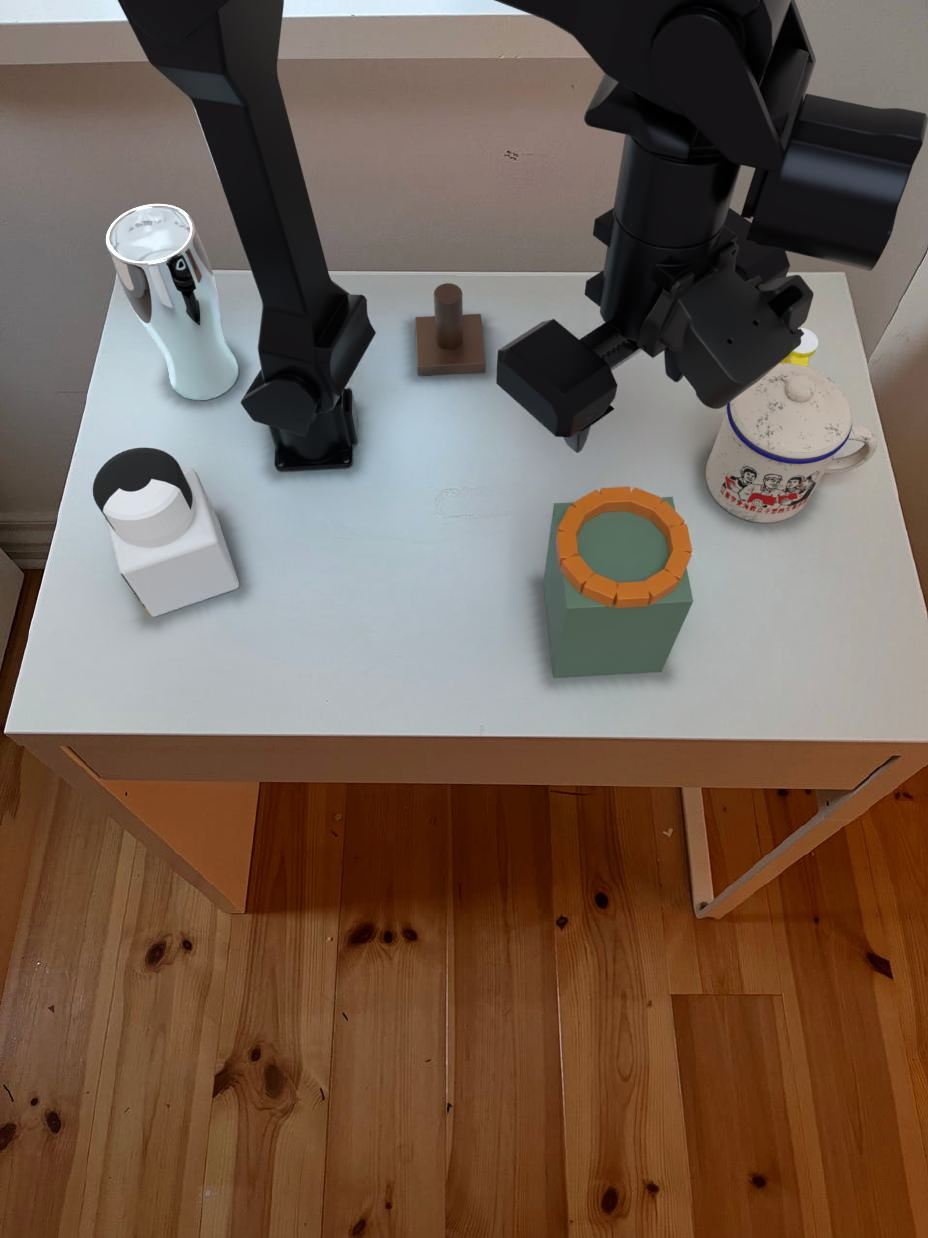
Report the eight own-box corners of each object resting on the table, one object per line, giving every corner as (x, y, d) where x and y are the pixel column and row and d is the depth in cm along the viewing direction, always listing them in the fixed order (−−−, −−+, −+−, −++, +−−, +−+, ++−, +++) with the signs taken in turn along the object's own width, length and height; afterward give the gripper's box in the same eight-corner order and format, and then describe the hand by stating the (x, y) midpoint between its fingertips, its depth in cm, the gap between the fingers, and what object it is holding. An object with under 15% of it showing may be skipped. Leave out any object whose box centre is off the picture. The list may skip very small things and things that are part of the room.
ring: (564, 611, 56) (565, 602, 55) (550, 500, 60) (551, 490, 59) (697, 603, 56) (701, 594, 55) (675, 493, 60) (678, 483, 59)
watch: (761, 361, 80) (781, 310, 74) (792, 363, 80) (815, 312, 74) (765, 414, 77) (786, 365, 72) (798, 416, 77) (822, 367, 71)
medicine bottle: (131, 546, 72) (71, 453, 61) (218, 518, 73) (173, 421, 62) (151, 619, 69) (91, 535, 58) (241, 589, 70) (198, 500, 59)
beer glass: (251, 347, 81) (206, 203, 68) (234, 407, 78) (184, 268, 65) (176, 343, 82) (117, 198, 68) (156, 402, 78) (91, 263, 65)
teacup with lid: (701, 522, 72) (739, 428, 62) (701, 432, 76) (736, 331, 66) (854, 535, 71) (918, 443, 61) (844, 444, 75) (903, 343, 65)
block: (553, 678, 66) (566, 608, 56) (543, 584, 70) (553, 502, 60) (661, 672, 66) (693, 601, 56) (645, 578, 70) (672, 496, 60)
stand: (417, 376, 79) (413, 321, 74) (415, 326, 82) (411, 269, 76) (485, 372, 79) (486, 317, 74) (480, 323, 82) (481, 265, 76)
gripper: (653, 394, 40) (607, 569, 54) (912, 210, 46) (810, 413, 60) (492, 261, 44) (488, 456, 58) (747, 107, 50) (688, 319, 64)
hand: (624, 411), depth 60 cm, fingers open, 9 cm apart
